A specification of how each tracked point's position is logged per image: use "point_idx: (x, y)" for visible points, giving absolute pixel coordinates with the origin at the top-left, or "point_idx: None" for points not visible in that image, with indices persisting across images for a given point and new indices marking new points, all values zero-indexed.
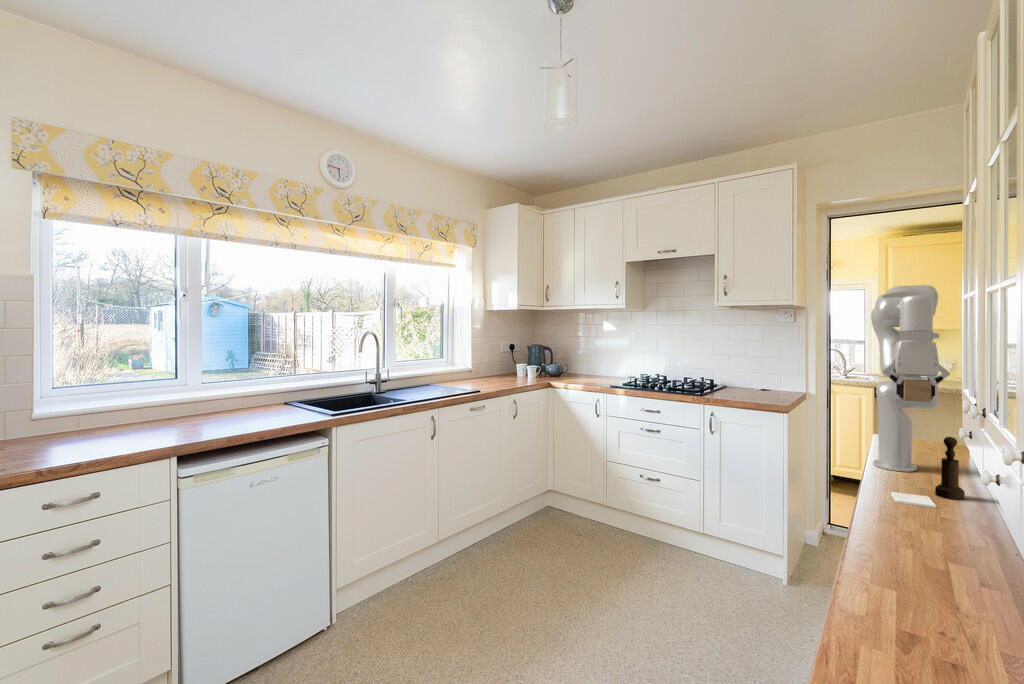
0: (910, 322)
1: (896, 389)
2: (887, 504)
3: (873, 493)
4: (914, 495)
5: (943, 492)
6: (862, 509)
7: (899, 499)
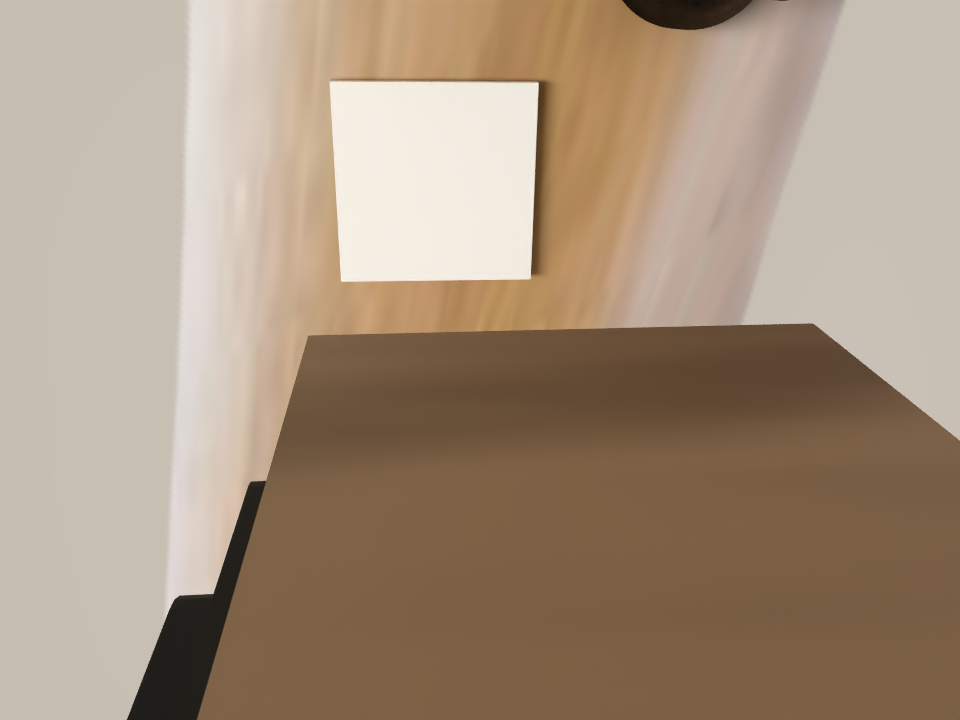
0: None
1: (148, 694)
2: (294, 333)
3: (229, 130)
4: (460, 101)
5: (640, 13)
6: (175, 480)
7: (360, 247)
